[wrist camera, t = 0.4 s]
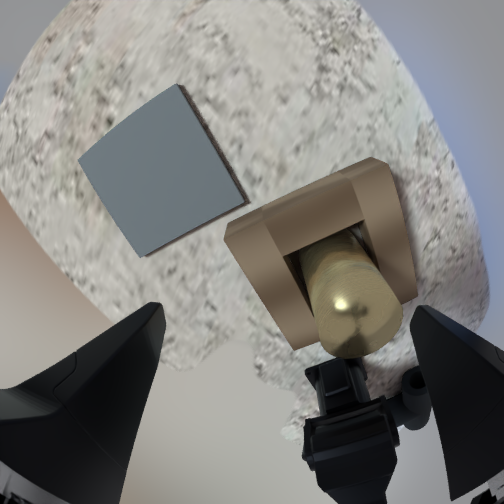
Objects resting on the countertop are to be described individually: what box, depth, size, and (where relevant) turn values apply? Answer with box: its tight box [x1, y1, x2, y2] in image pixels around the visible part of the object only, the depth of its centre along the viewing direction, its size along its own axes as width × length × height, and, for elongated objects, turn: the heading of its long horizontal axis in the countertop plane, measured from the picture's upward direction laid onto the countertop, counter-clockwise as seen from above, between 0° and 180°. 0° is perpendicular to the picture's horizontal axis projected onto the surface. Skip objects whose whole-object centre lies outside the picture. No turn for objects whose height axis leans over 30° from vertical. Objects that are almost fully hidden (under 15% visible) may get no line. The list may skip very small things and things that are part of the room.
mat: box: [78, 84, 245, 258], centre depth 19 cm, size 10×10×1 cm
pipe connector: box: [387, 365, 432, 430], centre depth 31 cm, size 12×5×15 cm
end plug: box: [299, 228, 403, 359], centre depth 18 cm, size 5×5×9 cm
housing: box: [224, 157, 418, 351], centre depth 20 cm, size 12×12×3 cm
